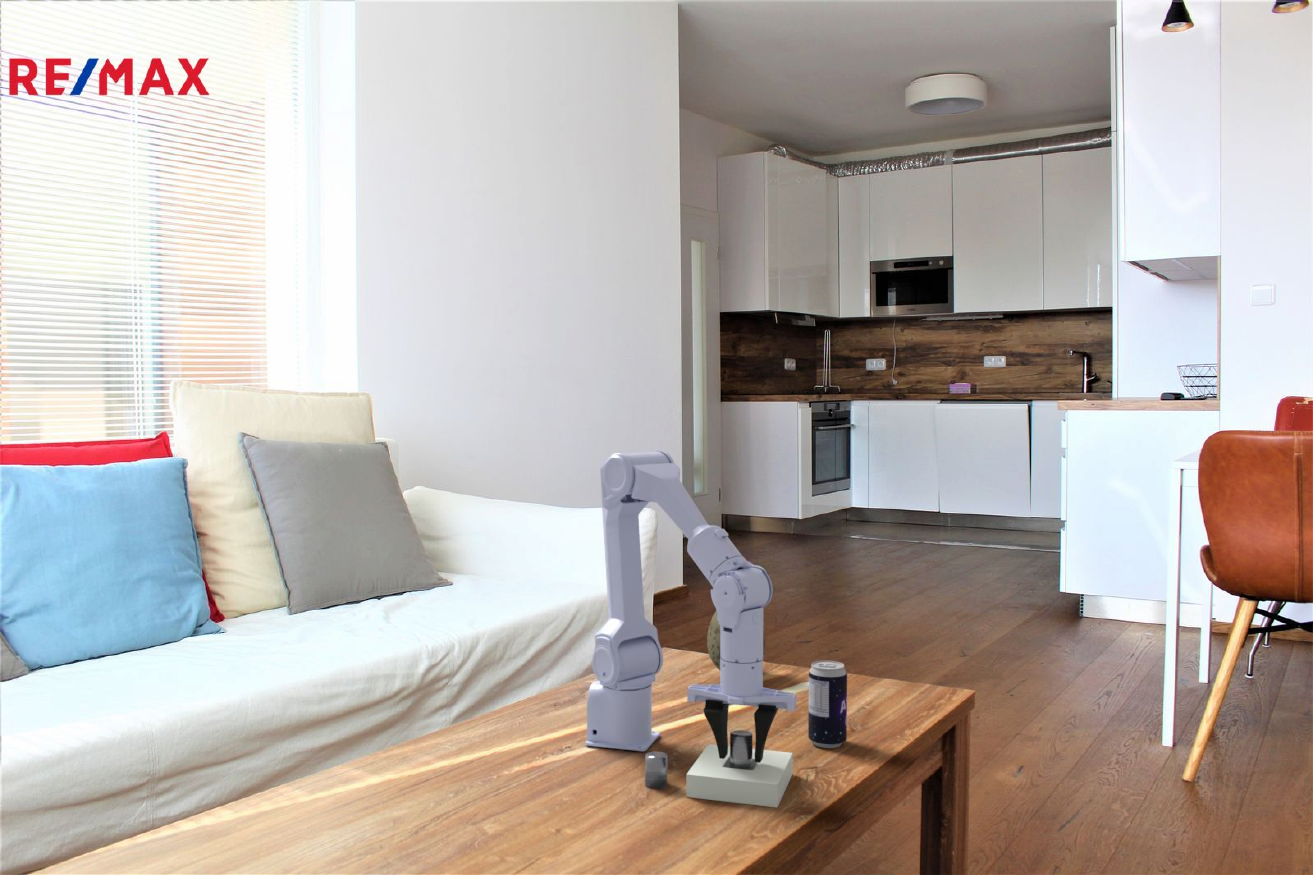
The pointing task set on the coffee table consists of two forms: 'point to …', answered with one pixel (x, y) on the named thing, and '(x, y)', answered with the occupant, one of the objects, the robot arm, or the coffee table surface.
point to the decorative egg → (718, 641)
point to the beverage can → (827, 704)
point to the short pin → (656, 770)
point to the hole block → (740, 778)
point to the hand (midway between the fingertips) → (741, 758)
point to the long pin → (741, 749)
